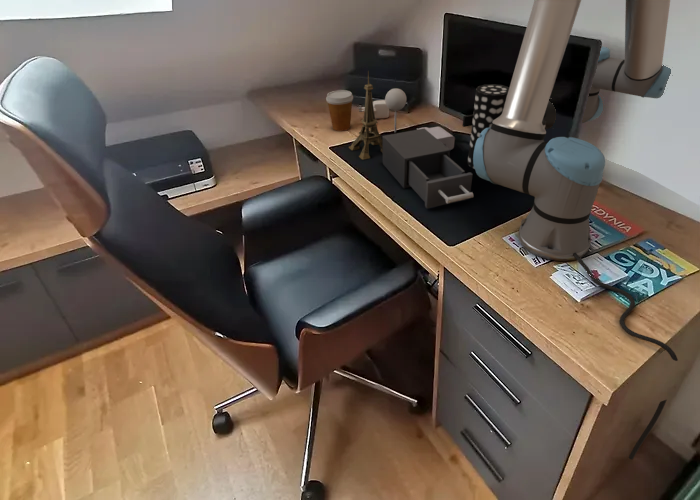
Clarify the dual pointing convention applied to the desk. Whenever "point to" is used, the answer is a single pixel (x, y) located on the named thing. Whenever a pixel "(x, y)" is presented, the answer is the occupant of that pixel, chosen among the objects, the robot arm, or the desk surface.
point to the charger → (441, 136)
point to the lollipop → (395, 101)
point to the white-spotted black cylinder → (486, 111)
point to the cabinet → (409, 151)
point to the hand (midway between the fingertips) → (472, 127)
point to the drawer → (439, 180)
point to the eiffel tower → (368, 122)
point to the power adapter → (379, 109)
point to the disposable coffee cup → (340, 108)
